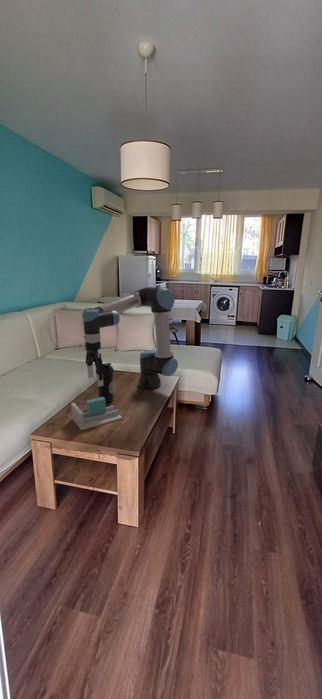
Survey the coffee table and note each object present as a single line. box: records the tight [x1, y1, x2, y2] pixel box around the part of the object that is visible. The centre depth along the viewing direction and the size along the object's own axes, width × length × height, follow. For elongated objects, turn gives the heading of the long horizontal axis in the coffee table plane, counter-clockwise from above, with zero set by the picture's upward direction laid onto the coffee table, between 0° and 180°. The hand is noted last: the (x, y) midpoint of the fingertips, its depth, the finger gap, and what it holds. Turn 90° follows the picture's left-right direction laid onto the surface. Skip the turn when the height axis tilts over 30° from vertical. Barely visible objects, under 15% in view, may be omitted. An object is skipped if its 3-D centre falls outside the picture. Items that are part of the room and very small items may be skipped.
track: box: [70, 402, 123, 431], centre depth 171 cm, size 22×14×9 cm, turn 122°
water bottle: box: [95, 362, 115, 404], centre depth 191 cm, size 10×10×23 cm
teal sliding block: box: [85, 397, 107, 417], centre depth 170 cm, size 9×4×10 cm, turn 121°
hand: (95, 381), depth 167 cm, fingers open, 13 cm apart
